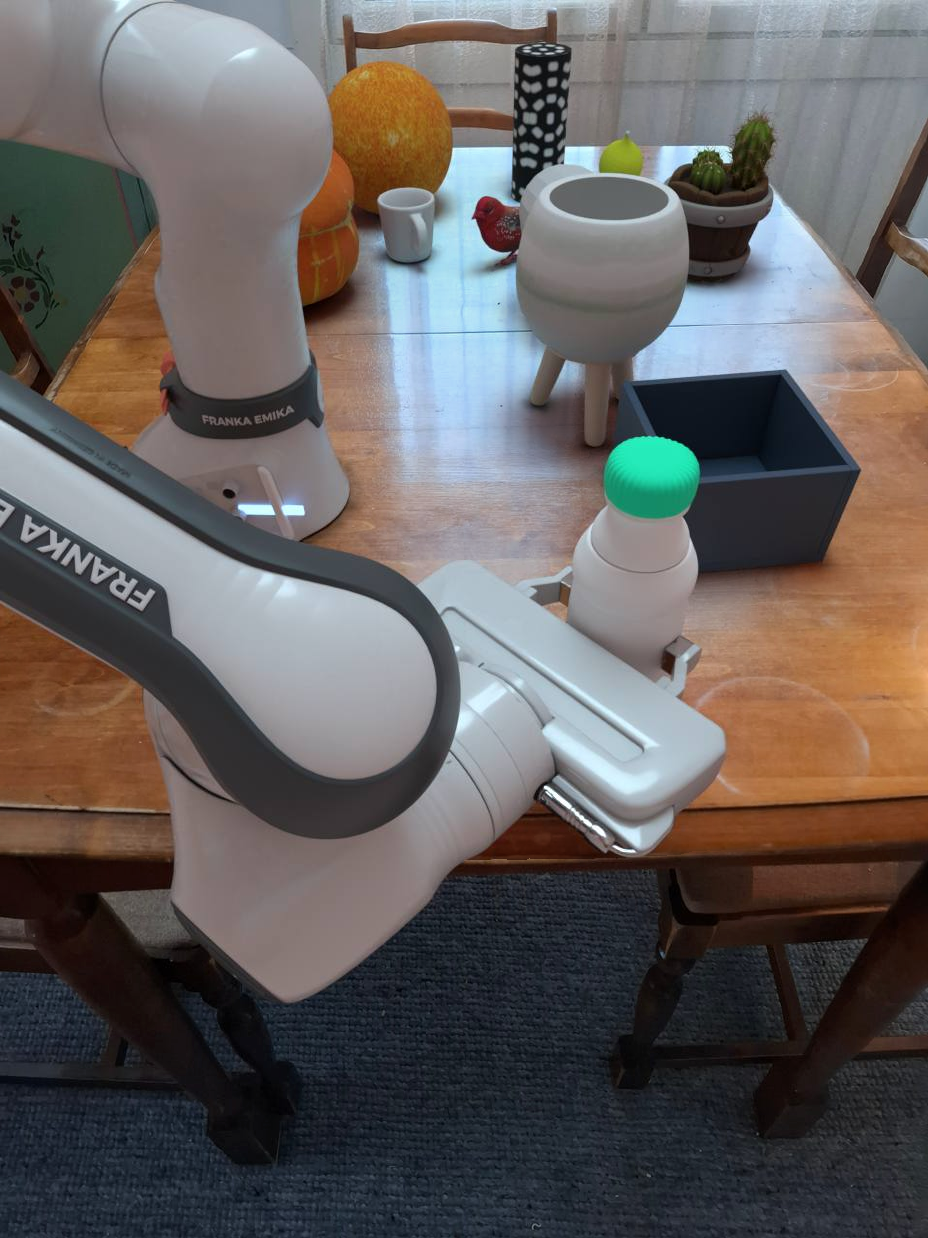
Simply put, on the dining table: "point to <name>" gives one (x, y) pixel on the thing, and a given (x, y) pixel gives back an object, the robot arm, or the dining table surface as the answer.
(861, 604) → the dining table surface
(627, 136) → the yellow-green rounded piece
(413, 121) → the decorative sphere
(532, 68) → the white-spotted black cylinder
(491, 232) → the decorative bird figurine
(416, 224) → the cup
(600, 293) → the planter
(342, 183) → the pumpkin
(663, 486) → the water bottle
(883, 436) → the dining table surface
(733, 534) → the bin
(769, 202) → the flowerpot
